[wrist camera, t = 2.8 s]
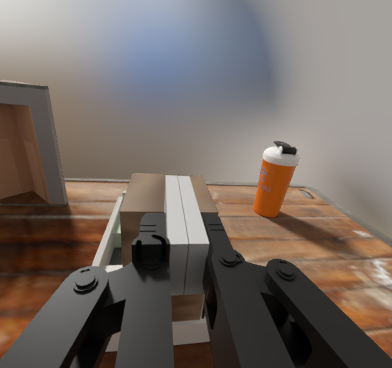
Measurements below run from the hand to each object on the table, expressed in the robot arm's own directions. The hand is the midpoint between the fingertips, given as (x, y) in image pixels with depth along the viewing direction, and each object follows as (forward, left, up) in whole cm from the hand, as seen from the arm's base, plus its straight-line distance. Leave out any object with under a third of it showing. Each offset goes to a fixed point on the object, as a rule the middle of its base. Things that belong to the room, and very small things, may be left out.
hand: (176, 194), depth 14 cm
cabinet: (-35, +42, -24) cm, 60 cm away
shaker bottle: (+30, +36, -24) cm, 53 cm away
